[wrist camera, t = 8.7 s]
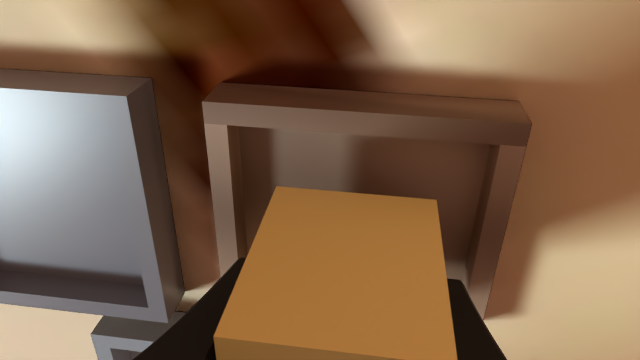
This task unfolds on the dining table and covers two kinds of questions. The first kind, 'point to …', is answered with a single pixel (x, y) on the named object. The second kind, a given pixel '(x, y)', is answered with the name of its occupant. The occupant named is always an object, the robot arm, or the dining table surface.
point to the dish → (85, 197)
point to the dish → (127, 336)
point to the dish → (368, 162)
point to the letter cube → (341, 282)
